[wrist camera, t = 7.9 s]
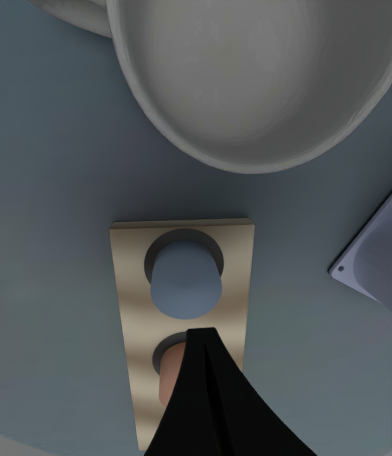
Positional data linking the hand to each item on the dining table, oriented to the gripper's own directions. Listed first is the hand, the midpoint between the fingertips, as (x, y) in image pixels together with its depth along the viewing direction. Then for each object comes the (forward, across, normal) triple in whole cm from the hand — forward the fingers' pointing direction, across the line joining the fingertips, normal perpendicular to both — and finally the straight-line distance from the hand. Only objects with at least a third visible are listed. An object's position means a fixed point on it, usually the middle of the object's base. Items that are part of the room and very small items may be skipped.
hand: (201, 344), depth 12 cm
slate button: (+7, +1, 0) cm, 7 cm away
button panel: (+8, 0, +9) cm, 12 cm away
